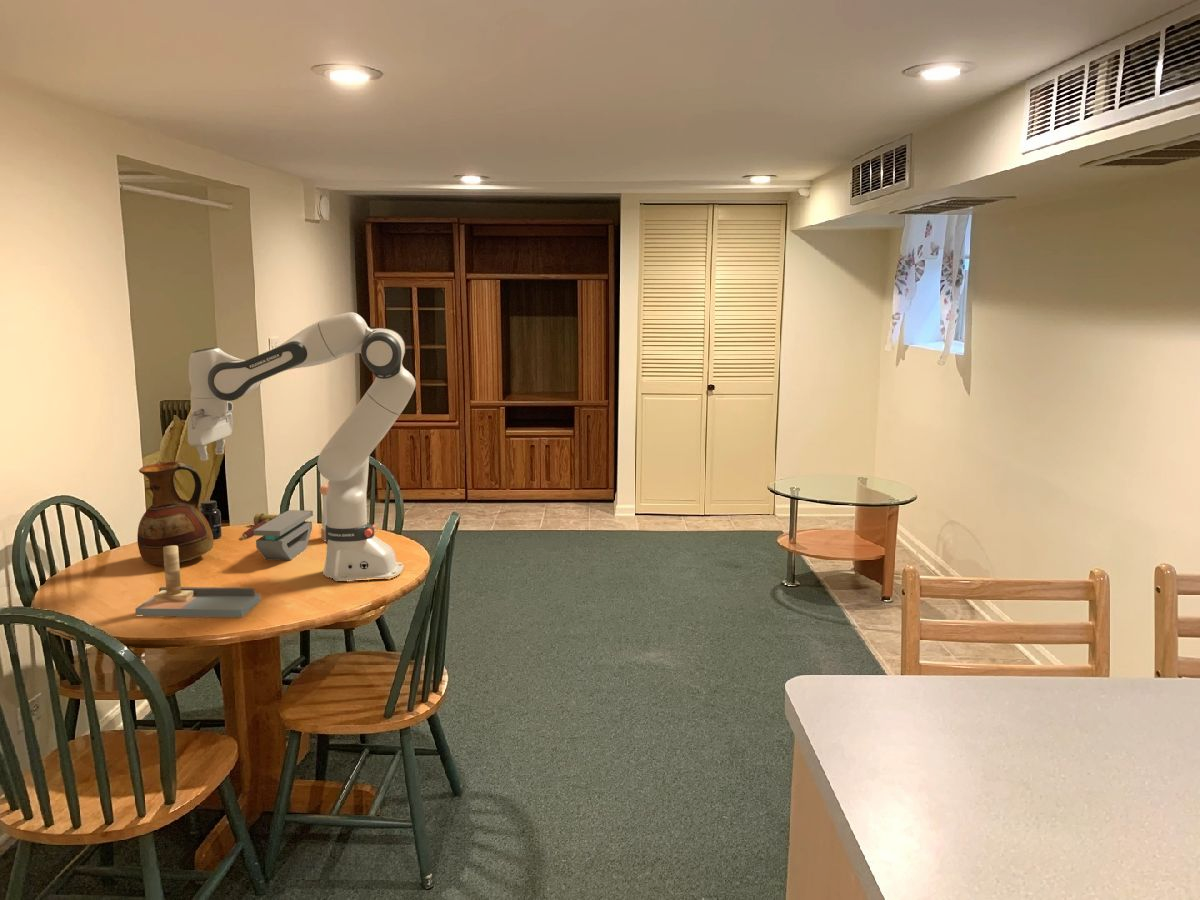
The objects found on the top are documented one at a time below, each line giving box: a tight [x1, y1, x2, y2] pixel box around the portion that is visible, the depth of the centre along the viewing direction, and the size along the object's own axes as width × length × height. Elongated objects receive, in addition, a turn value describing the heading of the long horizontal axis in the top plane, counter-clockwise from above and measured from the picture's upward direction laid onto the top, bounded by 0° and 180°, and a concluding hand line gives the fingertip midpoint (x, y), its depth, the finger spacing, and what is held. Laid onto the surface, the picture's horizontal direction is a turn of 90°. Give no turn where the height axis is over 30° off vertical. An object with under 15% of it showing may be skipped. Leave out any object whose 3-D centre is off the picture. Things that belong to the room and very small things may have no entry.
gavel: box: [240, 512, 282, 540], centre depth 294 cm, size 21×5×10 cm
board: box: [135, 586, 261, 618], centre depth 221 cm, size 26×12×4 cm, turn 90°
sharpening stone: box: [254, 509, 314, 561], centre depth 268 cm, size 25×8×11 cm, turn 177°
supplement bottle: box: [199, 500, 223, 540], centre depth 285 cm, size 7×7×12 cm
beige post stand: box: [153, 545, 194, 601], centre depth 222 cm, size 8×4×14 cm, turn 90°
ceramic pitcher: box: [137, 461, 214, 566], centre depth 259 cm, size 20×20×30 cm
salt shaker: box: [319, 481, 329, 541], centre depth 285 cm, size 7×7×19 cm
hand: (212, 457), depth 241 cm, fingers open, 8 cm apart
